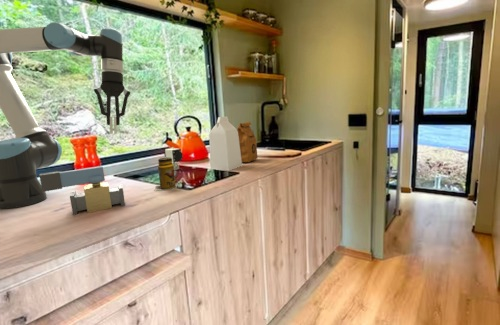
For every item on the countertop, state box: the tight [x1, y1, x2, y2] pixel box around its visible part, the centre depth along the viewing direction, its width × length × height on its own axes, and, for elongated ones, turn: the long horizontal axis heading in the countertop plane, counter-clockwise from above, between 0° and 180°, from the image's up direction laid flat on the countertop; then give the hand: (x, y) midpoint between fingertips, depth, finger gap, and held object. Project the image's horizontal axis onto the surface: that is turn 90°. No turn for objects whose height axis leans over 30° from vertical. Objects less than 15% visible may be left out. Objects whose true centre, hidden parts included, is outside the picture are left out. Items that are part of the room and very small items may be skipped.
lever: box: [38, 165, 106, 192], centre depth 93 cm, size 5×17×5 cm, turn 125°
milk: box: [208, 116, 243, 172], centre depth 151 cm, size 12×12×26 cm
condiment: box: [154, 157, 178, 192], centre depth 118 cm, size 7×8×12 cm
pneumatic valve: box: [163, 146, 184, 171], centre depth 155 cm, size 6×12×12 cm, turn 42°
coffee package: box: [236, 121, 258, 164], centre depth 165 cm, size 10×12×22 cm
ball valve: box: [69, 181, 126, 216], centre depth 97 cm, size 15×7×9 cm, turn 117°
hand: (113, 133), depth 116 cm, fingers closed
